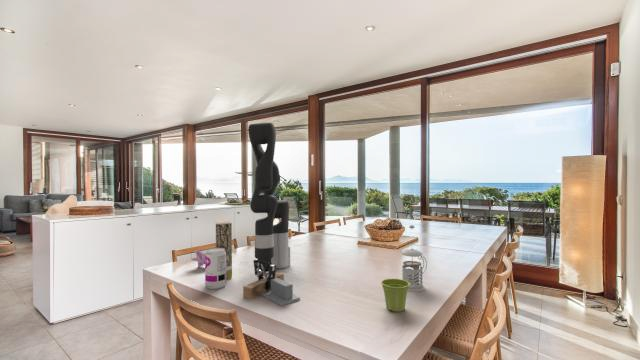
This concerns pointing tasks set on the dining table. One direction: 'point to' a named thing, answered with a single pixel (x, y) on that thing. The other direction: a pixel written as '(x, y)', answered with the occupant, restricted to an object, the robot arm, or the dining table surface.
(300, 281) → the dining table surface
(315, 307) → the dining table surface
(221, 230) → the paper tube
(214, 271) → the supplement can
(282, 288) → the ridge
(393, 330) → the dining table surface
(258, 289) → the batten
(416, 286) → the french press
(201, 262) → the lily
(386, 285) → the plant pot
